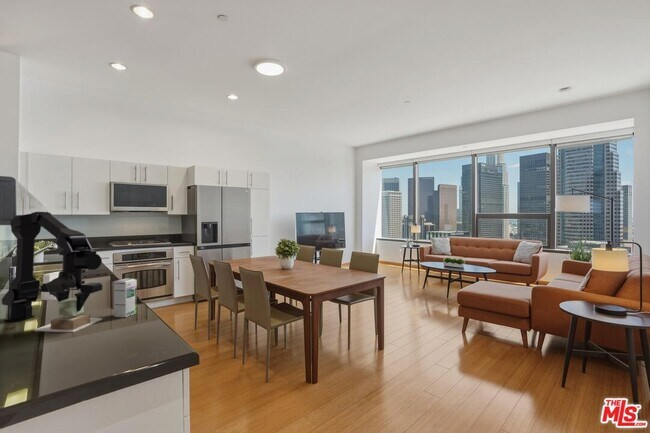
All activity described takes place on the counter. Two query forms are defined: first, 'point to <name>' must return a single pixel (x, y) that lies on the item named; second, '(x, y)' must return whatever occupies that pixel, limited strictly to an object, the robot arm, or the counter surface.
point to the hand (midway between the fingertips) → (71, 311)
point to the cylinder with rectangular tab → (47, 279)
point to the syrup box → (125, 297)
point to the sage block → (69, 307)
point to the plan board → (48, 327)
